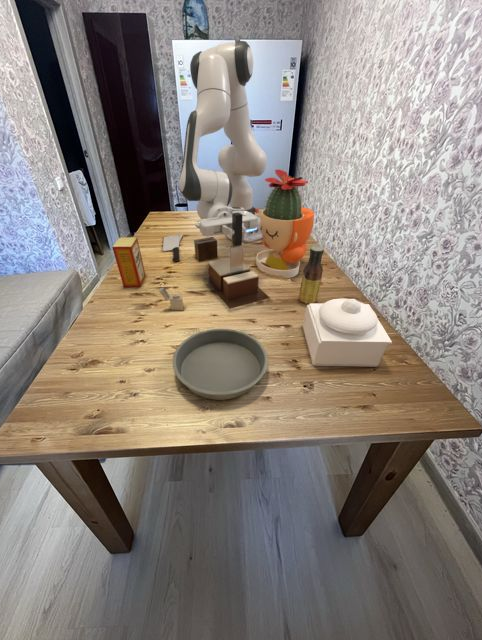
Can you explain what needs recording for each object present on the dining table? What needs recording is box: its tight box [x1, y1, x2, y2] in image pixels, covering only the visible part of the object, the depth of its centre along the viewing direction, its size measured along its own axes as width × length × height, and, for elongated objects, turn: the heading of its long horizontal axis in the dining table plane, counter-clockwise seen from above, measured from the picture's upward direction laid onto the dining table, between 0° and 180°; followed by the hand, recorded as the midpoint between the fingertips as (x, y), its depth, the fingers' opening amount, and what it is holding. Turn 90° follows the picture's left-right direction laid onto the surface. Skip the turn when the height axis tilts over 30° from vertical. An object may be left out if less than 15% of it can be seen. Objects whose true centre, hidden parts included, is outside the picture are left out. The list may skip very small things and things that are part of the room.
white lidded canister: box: [302, 297, 393, 368], centre depth 78 cm, size 18×18×16 cm
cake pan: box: [172, 328, 269, 401], centre depth 75 cm, size 25×25×4 cm
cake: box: [207, 256, 251, 291], centre depth 109 cm, size 12×12×7 cm
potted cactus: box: [255, 168, 315, 279], centre depth 111 cm, size 22×22×35 cm
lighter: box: [158, 287, 185, 311], centre depth 96 cm, size 7×2×8 cm, turn 91°
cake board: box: [203, 275, 271, 310], centre depth 108 cm, size 25×16×1 cm, turn 25°
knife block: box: [193, 236, 219, 263], centre depth 127 cm, size 9×5×8 cm, turn 115°
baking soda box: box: [111, 236, 147, 288], centre depth 108 cm, size 10×6×16 cm
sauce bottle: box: [298, 245, 325, 305], centre depth 94 cm, size 6×6×20 cm
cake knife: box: [229, 212, 245, 276], centre depth 96 cm, size 3×5×22 cm, turn 115°
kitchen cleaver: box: [162, 234, 184, 263], centre depth 137 cm, size 31×2×10 cm
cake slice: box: [223, 270, 260, 299], centre depth 102 cm, size 4×12×7 cm, turn 115°
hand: (238, 231), depth 91 cm, fingers closed on cake knife, 2 cm apart
